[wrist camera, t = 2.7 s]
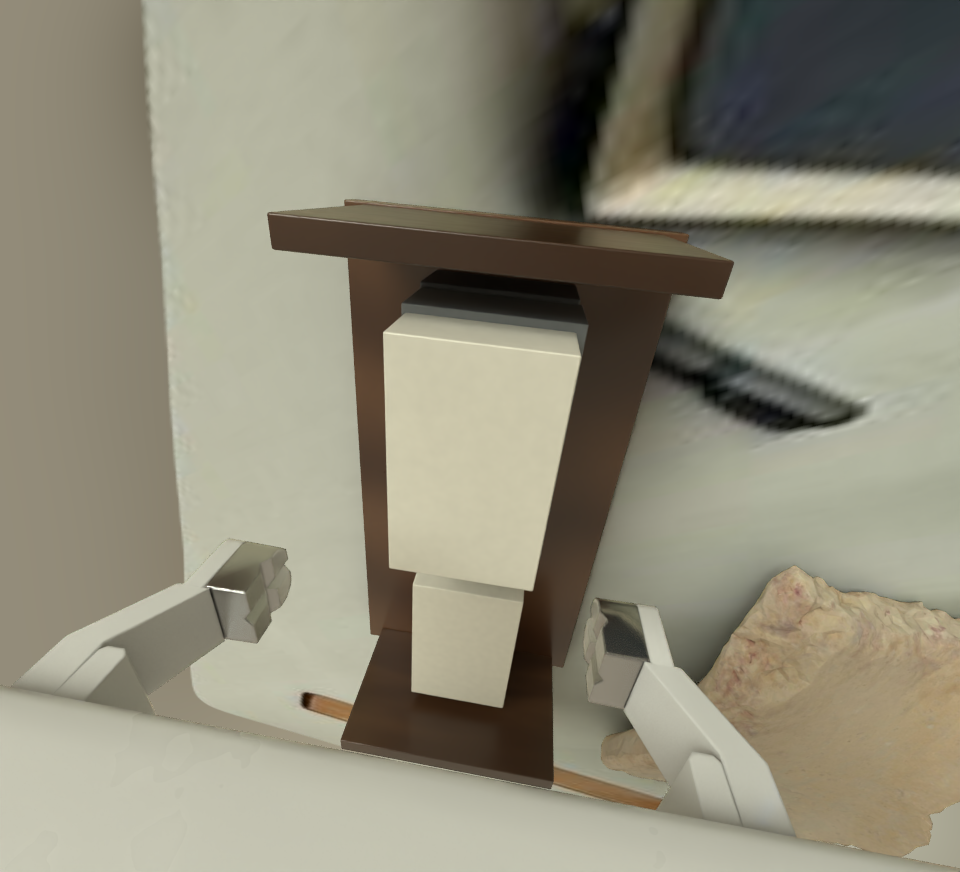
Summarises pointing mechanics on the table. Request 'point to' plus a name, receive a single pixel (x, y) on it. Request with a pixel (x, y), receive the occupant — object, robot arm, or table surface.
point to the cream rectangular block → (463, 638)
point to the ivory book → (473, 444)
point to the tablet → (839, 711)
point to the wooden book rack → (583, 467)
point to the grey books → (501, 303)
